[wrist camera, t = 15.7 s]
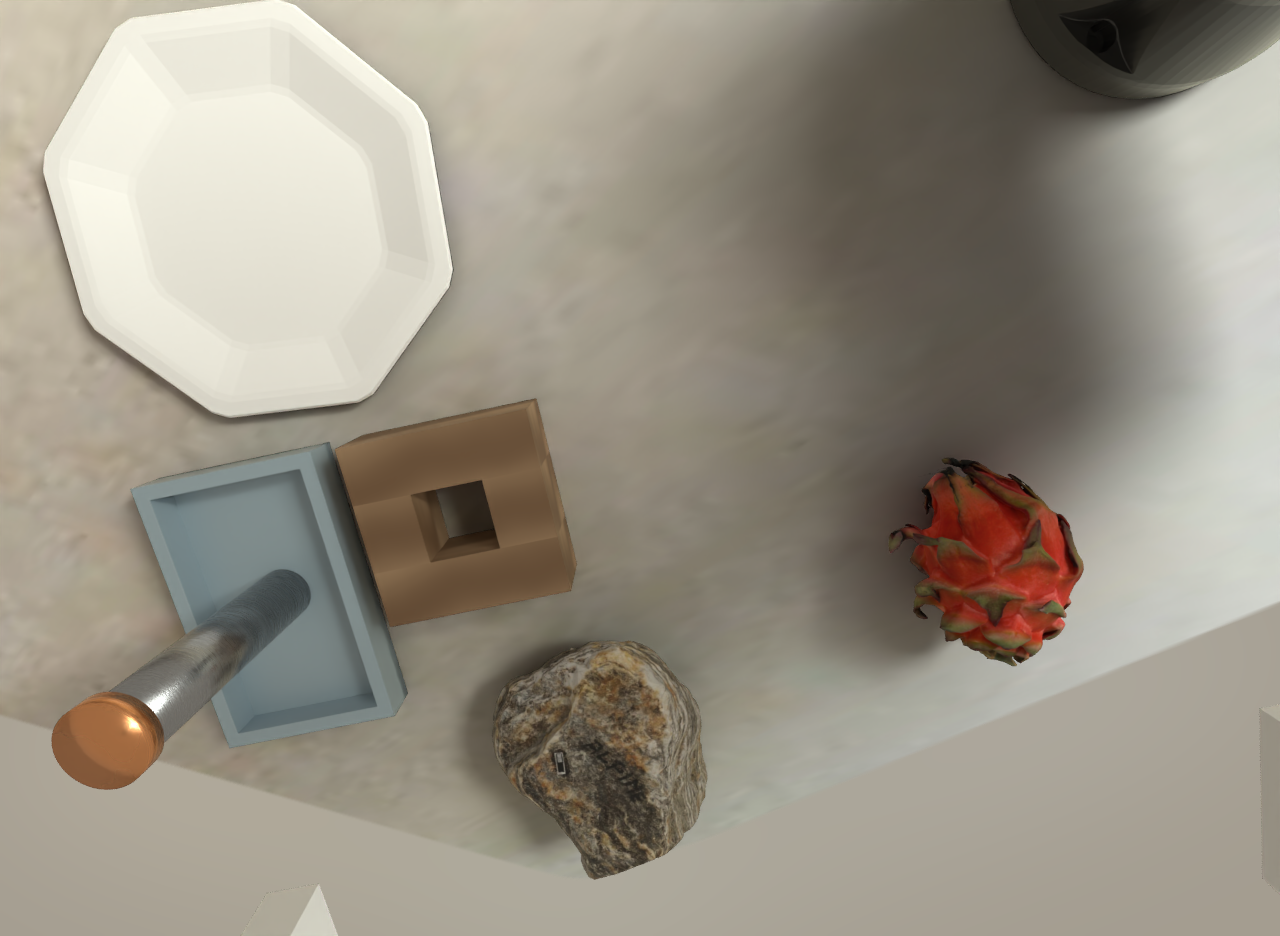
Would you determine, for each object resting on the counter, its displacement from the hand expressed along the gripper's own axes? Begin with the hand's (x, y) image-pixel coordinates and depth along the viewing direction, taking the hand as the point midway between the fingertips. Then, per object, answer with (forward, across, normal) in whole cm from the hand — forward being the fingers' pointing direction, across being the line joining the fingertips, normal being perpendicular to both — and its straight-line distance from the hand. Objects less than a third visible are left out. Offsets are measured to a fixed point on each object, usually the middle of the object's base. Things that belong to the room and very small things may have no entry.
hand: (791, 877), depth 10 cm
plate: (+32, -19, +16) cm, 41 cm away
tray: (+32, -24, -4) cm, 40 cm away
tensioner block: (+32, -12, -1) cm, 34 cm away
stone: (+32, -8, -16) cm, 37 cm away
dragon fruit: (+32, +15, -9) cm, 36 cm away
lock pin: (+31, -24, -4) cm, 39 cm away
